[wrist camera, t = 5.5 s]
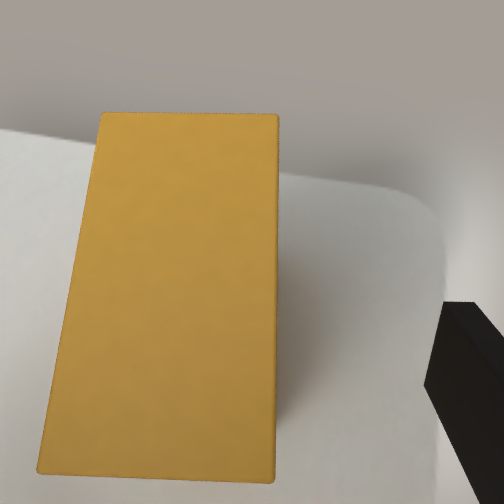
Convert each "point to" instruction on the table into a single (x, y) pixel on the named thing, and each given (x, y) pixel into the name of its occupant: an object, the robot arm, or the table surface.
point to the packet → (172, 305)
